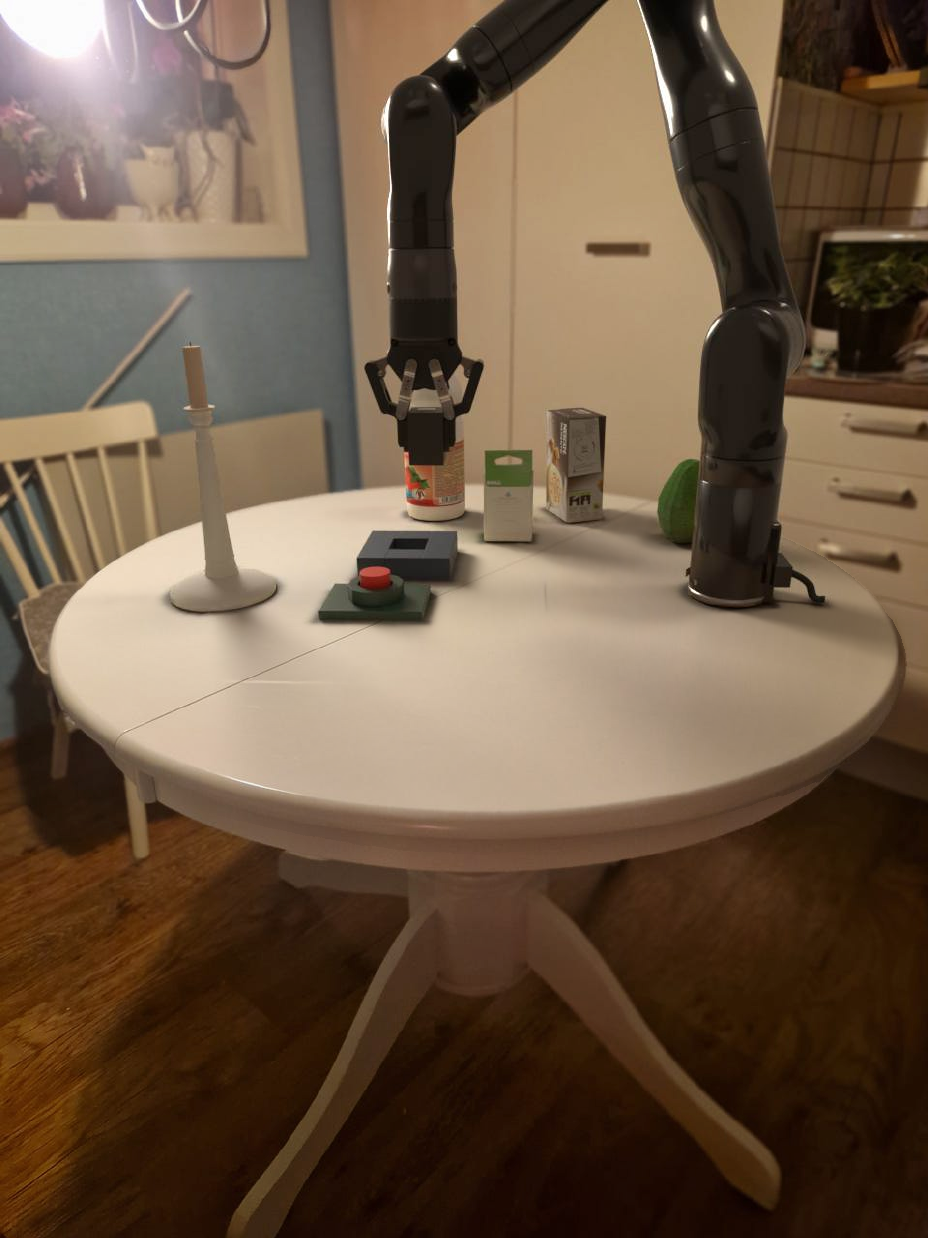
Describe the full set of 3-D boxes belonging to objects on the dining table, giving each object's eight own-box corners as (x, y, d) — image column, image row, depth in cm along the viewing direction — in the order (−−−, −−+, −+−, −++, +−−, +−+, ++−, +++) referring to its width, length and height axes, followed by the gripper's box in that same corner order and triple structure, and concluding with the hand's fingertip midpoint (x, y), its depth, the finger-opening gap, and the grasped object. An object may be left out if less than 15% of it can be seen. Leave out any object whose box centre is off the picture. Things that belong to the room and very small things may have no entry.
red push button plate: (430, 593, 107) (430, 570, 106) (422, 621, 98) (421, 597, 97) (335, 592, 108) (333, 569, 106) (318, 620, 99) (316, 596, 98)
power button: (393, 580, 104) (392, 566, 103) (388, 591, 100) (387, 576, 100) (363, 580, 104) (362, 566, 103) (357, 590, 100) (356, 576, 100)
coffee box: (604, 519, 135) (608, 415, 129) (566, 524, 133) (569, 418, 127) (579, 505, 143) (582, 406, 137) (543, 508, 141) (545, 409, 135)
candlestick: (223, 619, 100) (186, 349, 88) (148, 599, 106) (104, 345, 95) (297, 585, 110) (272, 338, 98) (225, 569, 116) (194, 335, 105)
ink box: (532, 534, 128) (533, 444, 123) (531, 542, 125) (533, 450, 119) (485, 534, 129) (485, 444, 124) (483, 542, 125) (482, 449, 120)
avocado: (722, 545, 122) (731, 460, 118) (678, 553, 119) (685, 467, 114) (686, 530, 129) (693, 450, 124) (643, 538, 126) (648, 456, 121)
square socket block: (457, 551, 122) (457, 530, 121) (450, 580, 111) (449, 558, 110) (373, 550, 123) (372, 530, 121) (357, 579, 112) (356, 557, 110)
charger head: (446, 457, 103) (445, 405, 101) (443, 465, 99) (442, 411, 97) (412, 457, 103) (410, 406, 101) (408, 465, 100) (406, 411, 97)
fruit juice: (464, 521, 135) (461, 334, 124) (404, 522, 135) (395, 334, 125) (466, 505, 144) (463, 328, 133) (409, 506, 144) (402, 329, 133)
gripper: (489, 291, 97) (489, 444, 104) (363, 292, 98) (371, 444, 105) (486, 294, 90) (487, 458, 97) (351, 296, 91) (361, 457, 98)
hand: (427, 449), depth 101 cm, fingers closed on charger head, 4 cm apart
